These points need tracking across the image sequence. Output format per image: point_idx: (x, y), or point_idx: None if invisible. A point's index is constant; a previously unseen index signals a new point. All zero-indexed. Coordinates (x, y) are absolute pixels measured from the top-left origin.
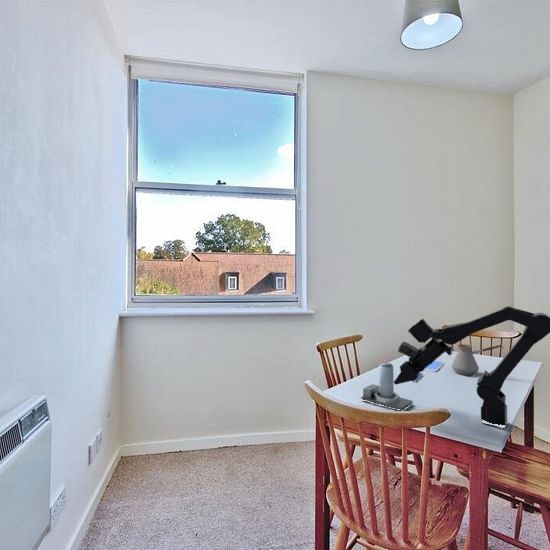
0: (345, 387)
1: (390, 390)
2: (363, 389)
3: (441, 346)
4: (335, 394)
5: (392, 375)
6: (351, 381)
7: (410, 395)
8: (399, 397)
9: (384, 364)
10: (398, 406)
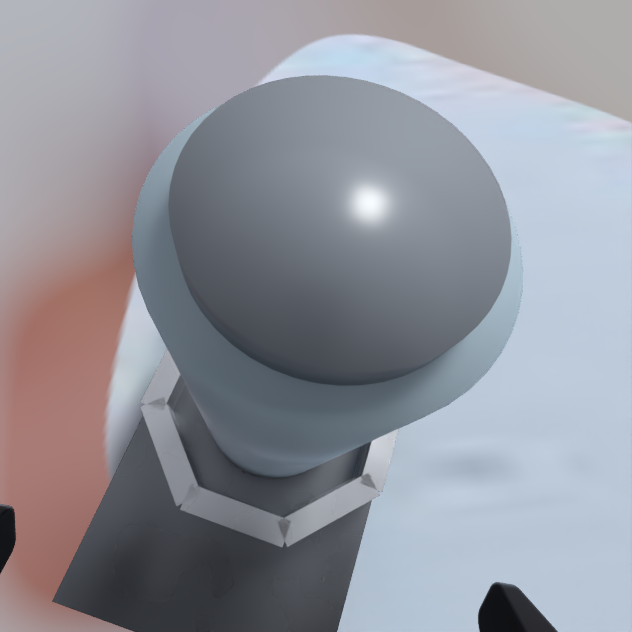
0: (479, 106)
1: (216, 440)
2: None
3: None
4: (314, 65)
5: (250, 444)
6: (619, 128)
7: (570, 619)
8: (276, 544)
9: (265, 162)
10: (78, 554)
